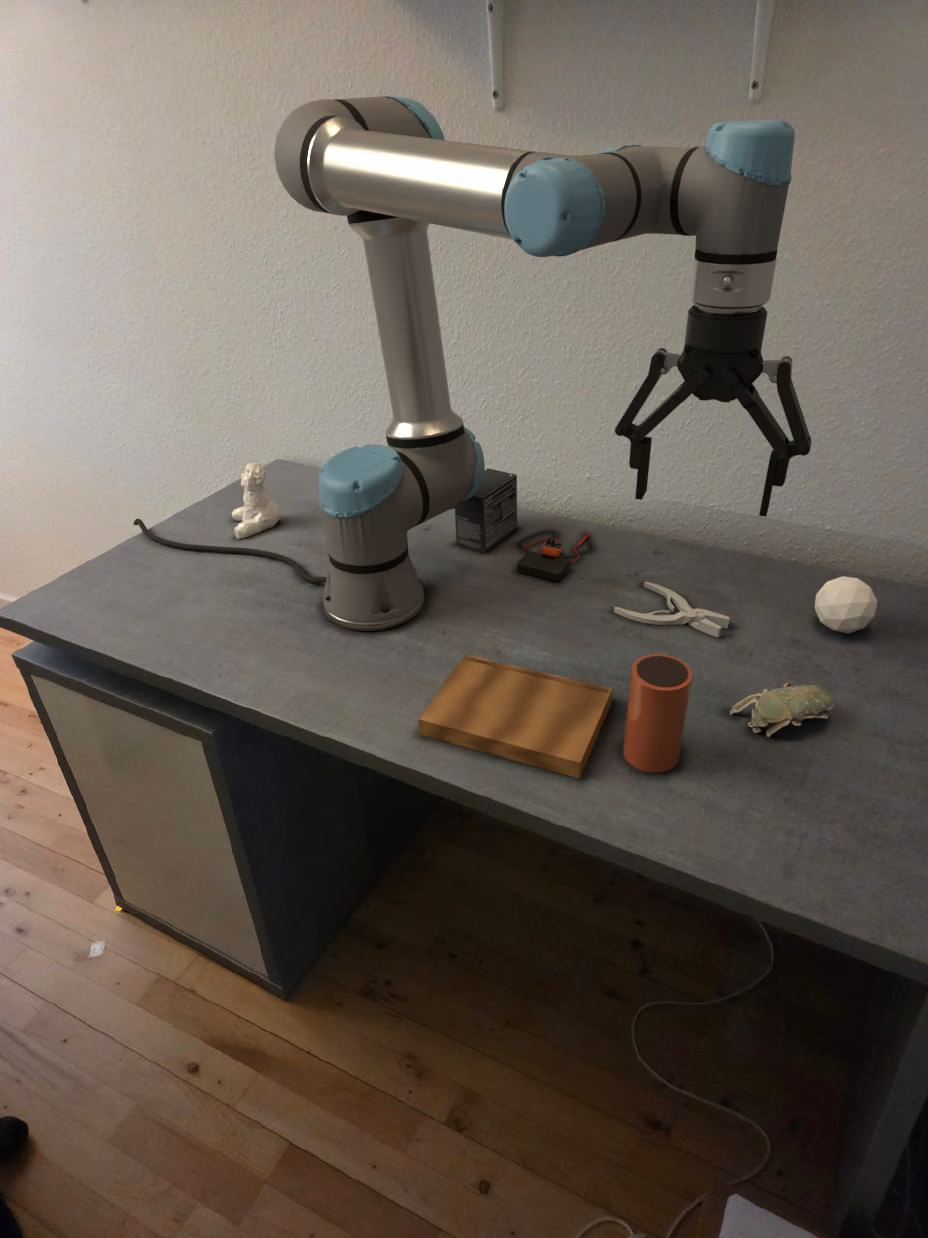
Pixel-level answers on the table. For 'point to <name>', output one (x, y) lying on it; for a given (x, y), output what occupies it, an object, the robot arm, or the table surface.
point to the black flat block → (547, 560)
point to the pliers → (679, 614)
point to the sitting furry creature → (255, 504)
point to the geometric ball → (845, 604)
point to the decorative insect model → (785, 706)
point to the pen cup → (656, 712)
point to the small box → (488, 512)
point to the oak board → (518, 714)
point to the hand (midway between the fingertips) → (700, 503)
